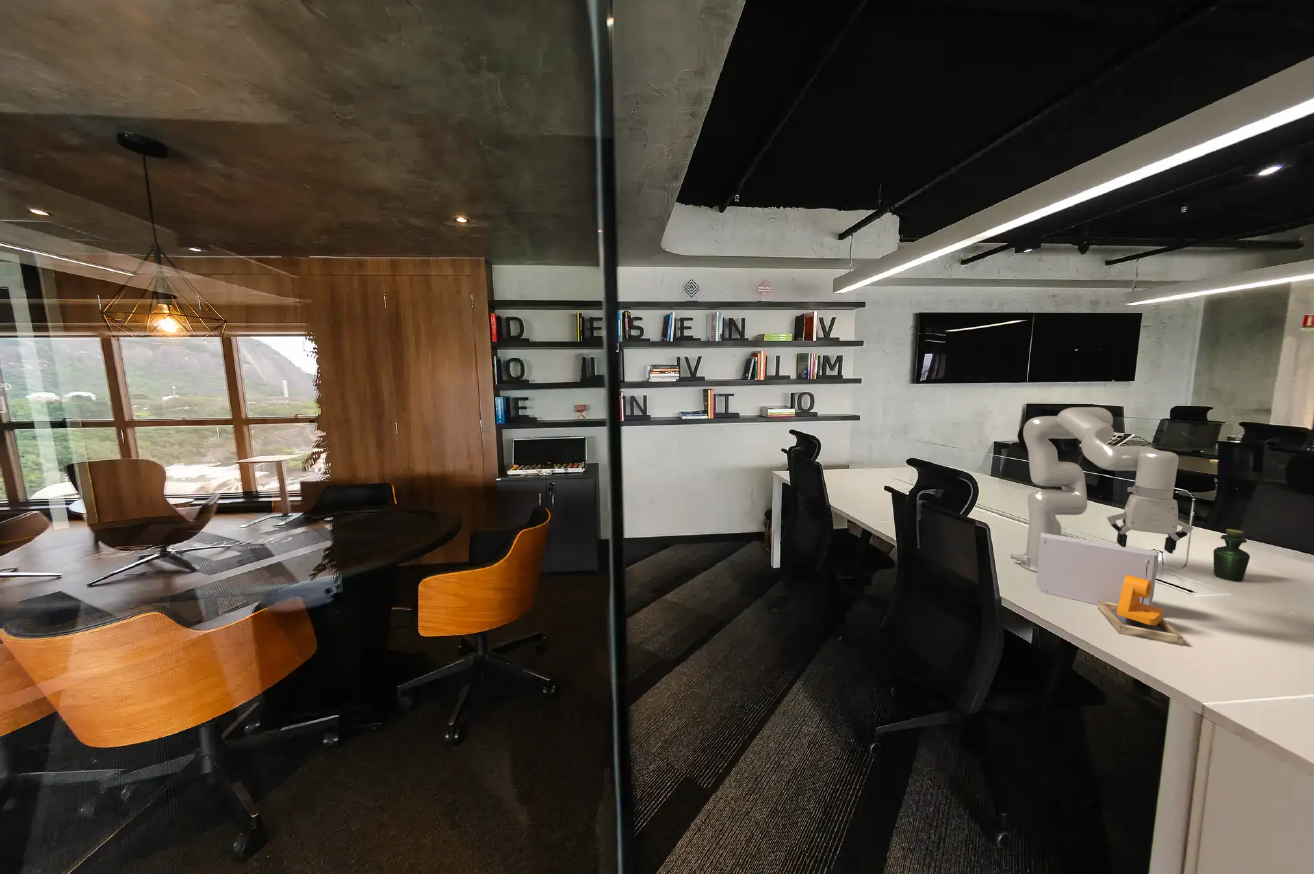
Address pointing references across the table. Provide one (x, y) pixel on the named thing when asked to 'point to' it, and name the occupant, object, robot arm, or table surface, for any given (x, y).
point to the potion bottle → (1231, 557)
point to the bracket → (1138, 601)
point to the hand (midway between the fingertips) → (1144, 548)
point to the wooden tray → (1139, 626)
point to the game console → (1091, 568)
